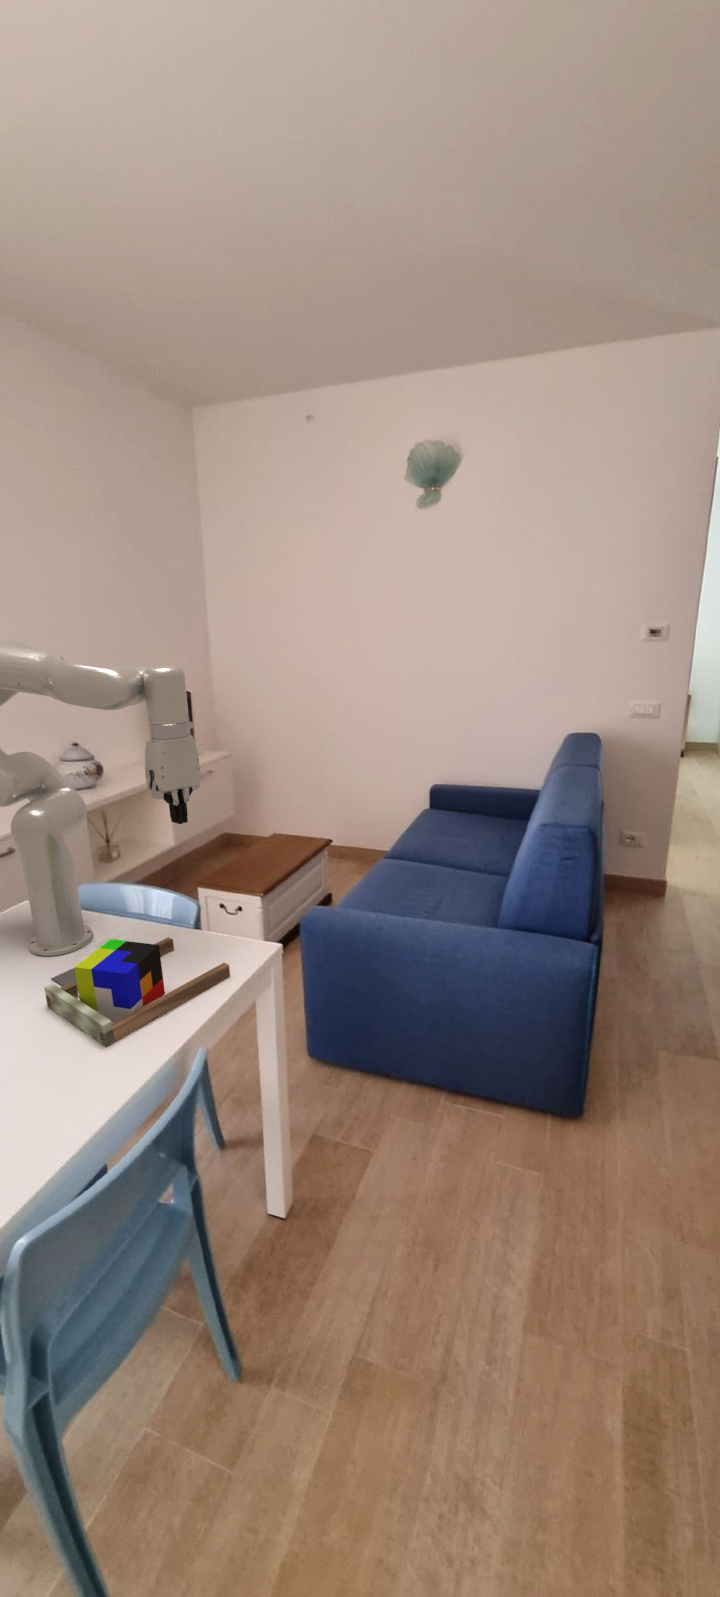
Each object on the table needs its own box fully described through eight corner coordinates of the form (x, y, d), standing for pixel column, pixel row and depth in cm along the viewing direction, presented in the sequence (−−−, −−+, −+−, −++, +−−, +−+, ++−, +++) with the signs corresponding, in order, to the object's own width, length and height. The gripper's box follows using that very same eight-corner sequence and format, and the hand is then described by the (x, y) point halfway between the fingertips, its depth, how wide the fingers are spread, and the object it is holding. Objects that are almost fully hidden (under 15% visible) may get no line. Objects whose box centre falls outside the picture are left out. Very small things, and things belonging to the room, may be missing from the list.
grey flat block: (51, 979, 124) (51, 978, 124) (80, 966, 129) (80, 965, 128) (72, 993, 119) (72, 991, 119) (102, 978, 124) (102, 977, 124)
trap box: (47, 1006, 115) (44, 987, 114) (169, 948, 135) (167, 930, 134) (106, 1047, 104) (102, 1025, 103) (230, 976, 123) (228, 957, 122)
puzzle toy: (133, 1026, 109) (125, 973, 106) (82, 1018, 112) (74, 967, 109) (164, 993, 118) (158, 944, 116) (117, 987, 121) (110, 939, 118)
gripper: (189, 724, 132) (197, 810, 137) (124, 735, 121) (136, 828, 126) (213, 727, 127) (221, 815, 132) (147, 739, 116) (159, 835, 121)
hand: (179, 821), depth 129 cm, fingers closed
